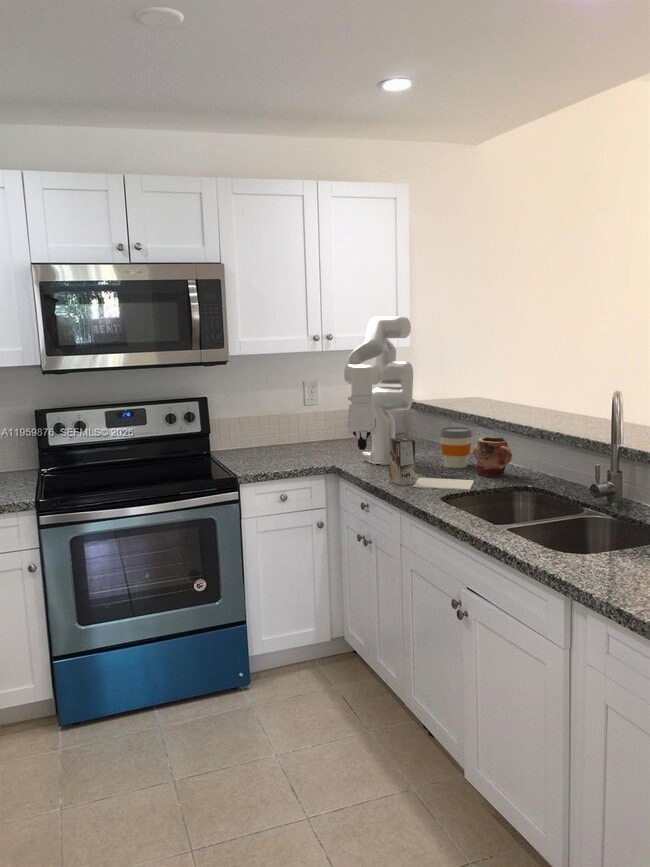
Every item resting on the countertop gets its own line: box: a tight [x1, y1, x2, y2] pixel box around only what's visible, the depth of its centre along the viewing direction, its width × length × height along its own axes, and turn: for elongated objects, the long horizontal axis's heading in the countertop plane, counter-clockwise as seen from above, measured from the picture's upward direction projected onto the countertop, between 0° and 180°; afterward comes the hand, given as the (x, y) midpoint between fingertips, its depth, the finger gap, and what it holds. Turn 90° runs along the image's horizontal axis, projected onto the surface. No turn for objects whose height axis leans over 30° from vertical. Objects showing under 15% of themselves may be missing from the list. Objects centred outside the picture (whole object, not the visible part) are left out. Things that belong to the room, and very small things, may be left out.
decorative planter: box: [472, 437, 513, 478], centre depth 268 cm, size 20×12×14 cm, turn 30°
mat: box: [412, 477, 475, 491], centre depth 255 cm, size 20×14×1 cm
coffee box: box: [388, 436, 416, 486], centre depth 259 cm, size 9×6×16 cm
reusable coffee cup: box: [439, 426, 473, 469], centre depth 286 cm, size 13×13×15 cm
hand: (362, 449), depth 262 cm, fingers closed
